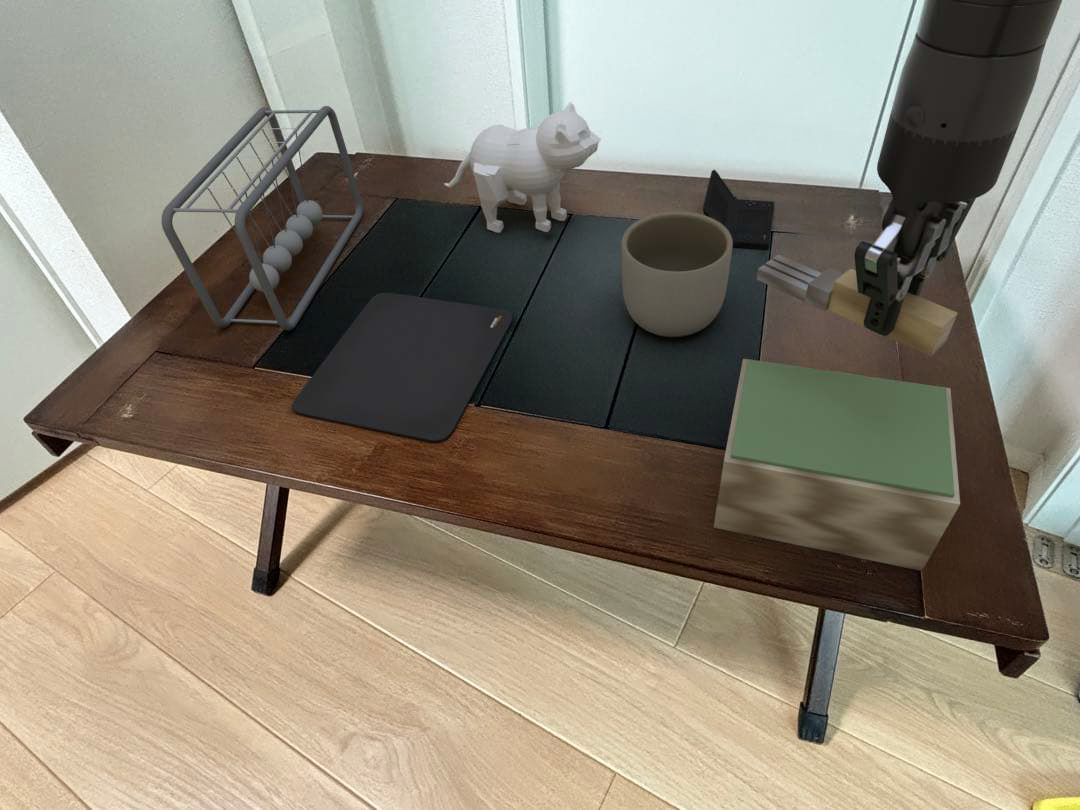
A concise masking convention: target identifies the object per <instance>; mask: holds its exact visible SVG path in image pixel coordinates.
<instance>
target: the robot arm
mask: <svg viewBox="0 0 1080 810" xmlns="http://www.w3.org/2000/svg"><path fill="white" fill-rule="evenodd" d="M1062 2H1063V0H924V1H923V4H922V9H921V13H920V16H919V20H918V24H917V28H916V32H915V34H914V38H913V40H912V44H911V46H910V48H909V52H908V54H907V56H906V57H905V61H904V63H903V67H902V69H901V72H900V76H899V79H898V84H897V87H896V91H895V95H894V99H893V103H892V106H891V110H890V114H889V117H888V121H887V125H886V130H885V134H884V137H883V141H882V145H881V148H880V152H879V156H878V160H877V163H876V164H877V165H876V172H877V175H878V178H879V179H880V181H881V182H882V183H883V184H884V185H885V186H886V187H887V190H889V192H890V194H891V196H892V199H891V200H889V202H888V203H887V204H886V205H885V207H884V209H883V212H882V215H881V218H880V220H879V221H880V222H879V224H880V232H879V235H878V237H877V238H876V239H875V242H874V243H870V242H867V241H864V240H861V242H860V243H859V244H858V245H857V246H856V248H855V251H854V266H855V270H856V277H857V288H858V293H861V294H863V295H865V296H868V297H870V302H869V305H868V308H867V312H866V315H865V319H864V326H865V328H866V329H867V330H868V331H869V330H870V331H871V332H874V333H876V334H878V335H880V336H883V337H886V336H887V335H889V334H890V333H891V332H892V331H893V330H894V327H895V324H896V321H897V318H898V315H899V312H900V309H901V306H902V303H903V300H904V297H905V296H906V294H907V292H908V293H911V294H913V295H916V296H918V297H920V294H921V292H922V288H923V285H924V284H925V283H924V282H925V279H928V278H929V277H930V276H931V275H932V274H933V273H934V268H935V265H936V262H938V263H941V262H942V261H943V260H944V259H946V257H947V255H948V252H949V250H950V248H951V246H952V245H953V243H954V241H955V238H956V237H957V235H958V233H959V231H960V229H961V227H962V226H963V224H964V222H965V220H966V219H967V216H968V214H969V212H970V211H971V208H972V206H973V205H974V203H975V202H976V200H977V198H980V197H982V196H984V195H985V194H987V193H989V192H990V190H992V189H993V188H994V187H995V185H996V184H997V182H998V180H999V177H1000V175H1001V172H1002V169H1003V167H1004V164H1005V163H1006V159H1007V157H1008V155H1009V152H1010V149H1011V147H1012V144H1013V142H1014V139H1015V136H1016V134H1017V132H1018V128H1019V126H1020V123H1021V120H1022V118H1023V116H1024V113H1025V110H1026V108H1027V106H1028V103H1029V101H1030V98H1031V95H1032V93H1033V90H1034V87H1035V85H1036V83H1037V78H1038V74H1039V71H1040V67H1041V62H1042V58H1043V54H1044V51H1045V47H1046V44H1047V42H1048V41H1047V40H1048V39H1049V36H1050V34H1051V31H1052V29H1053V26H1054V23H1055V20H1056V18H1057V16H1058V13H1059V11H1060V7H1061V6H1062ZM864 326H863V327H864Z"/></svg>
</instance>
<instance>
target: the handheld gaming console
mask: <svg viewBox="0 0 1080 810" xmlns="http://www.w3.org/2000/svg"><path fill="white" fill-rule="evenodd" d="M708 180H709V181H708V185H707V188H706V194H705V198H704V201H703V206H702V212H703V215H705V216H707V217H710V218H712V219H714V220H716V221H718V222H720V223H721V224H722V225H723V226H725V227H726V228H727V230H728V231H729V232H730V234H731V236H732V240H733V247H732V248H744V249H755V250H769V247H770V243H771V235H772V225H773V217H774V209H775V201H772V200H756V199H740V198H738V197H737V196H734V194H733V193H732V191H731V190H730V188H729V187H728V186H727V184H726V183H725V181H724V180H723V179H722V177H721V175H720V174H719V173H718V171H717V170H715V169H712V170H711V173H710V177H709V179H708Z"/></svg>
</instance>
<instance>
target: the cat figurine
mask: <svg viewBox="0 0 1080 810" xmlns="http://www.w3.org/2000/svg"><path fill="white" fill-rule="evenodd" d="M597 132H599V133H601V134H602V132H601V131H598V130H597ZM601 140H602V138H601V137H600V136H598V135H597V134H596V132H593V131H592V130H591V129H590V127H589V125H588V123H587V121H586V120H585V119H584V118H583V117H582V116H581V115H579V114H578V113H577V110H576V107H575V104H573V103H572V101H569V102H568V104H567V105H566V107H565V108H564V109H563V110H560V111H559V110H558V111H556V112H553V113H551V114H549V115H547V117H545V118H544V119H543V120H542V122H541V123H540V125H539V126H529V127H525V128H522V129H518V130H517V129H514V128H511V127H509V126H505V125H502V124H495V125H491V126H489V127H487V128H485V129H483V130H482V131H481V132H480V133H479V134H478V135H477V136H476V138H475V139H474V141H473V143H472V145H471V148H470V152H469V153H468V154H467V155H466V156H465V157H464V158H463V160H462V161H461V162H460V163H459V165H458V168H457V171H456V172H455V175H454V177H453V178H452V180H450V182H444V183H443V185H445V187H447V188H449V189H451V190H453V189H454V188H455V187H456V186H458V185H459V184H460V183H461V182H462V179H463V177H464V174H465V171H466V170H467V169H468V168H469V167H470V169H471V172H472V174H473V176H474V180H475V185H476V189H477V194H478V199H479V201H480V206H481V209H482V213H483V215H484V217H485V221H486V229H487V230H489V231H492V232H493V233H496V234H497V233H498V234H500V233H502V231H503V229H504V228H505V227H504V221H502V220H500V219H497V215H498V207H499V206H500V205H501V204H503V203H504V202H505V201H508V202H509V203H512V204H516V205H519V206H525V204H526V203H527V201H528V197H530V198H531V204H532V212H533V215H534V218H535V229H536V230H538V231H542V232H544V233H549V232H550V230H551V229H552V221H551V220H549V219H547V214H548V213H547V212H548V207H549V210H550V216H551V218H552V219H554V220H555V221H556V220H557V221H560V222H565V221H566V219H567V218H568V213H567V212H568V211H567V209H565V208H563V207H561V200H562V196H561V194H560V193H561V192H560V191H561V183H562V181H563V178H564V176H565V174H566V171H569V170H573V169H575V168H579V167H581V166H582V165H584V164H585V163H586V161H587V160H590V159H589V158H590V157H591V156H592V155H593V154H596V152H597V151H598V148H599V143H600V142H601ZM596 158H597V159H598V161H599V160H600V159H599V157H598V156H596ZM547 205H548V206H547Z"/></svg>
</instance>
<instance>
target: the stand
mask: <svg viewBox="0 0 1080 810" xmlns="http://www.w3.org/2000/svg"><path fill="white" fill-rule="evenodd" d="M748 360H751V359H750V358H743V359H742V362H741V366H740V367H741V368H740V373H739V378H738V382H737V383H738V384H737V388H736V394H735V398H734V399H735V400H734V405H733V410H732V416H731V421H730V425H729V426H730V427H729V431H728V436H727V442H726V447H725V451H724V458H723V463H722V470H721V477H720V483H719V488H718V489H719V491H718V495H717V502H716V507H715V508H716V509H715V516H714V522H713V528H714V529H719V530H723V531H727V532H733V533H737V534H742V535H748V536H753V537H757V538H762V539H767V540H771V541H776V542H780V543H785V544H789V545H795V546H800V547H804V548H808V549H809V548H810V549H814V550H819V551H824V552H829V553H833V554H837V555H843V556H848V557H853V558H857V559H862V560H866V561H871V562H877V563H881V564H886V565H890V566H895V567H900V568H905V569H909V570H915V571H919V572H922V571H923V570H924V568H925V567H926V565H927V563H928V562H929V560H930V557H931V556H932V554H933V553H934V551H935V549H936V548H937V546H938V544H939V542H940V541H941V538H943V535H944V533H945V532H946V530H947V528H948V527H949V525H950V523H951V522H952V519H953V518H954V516H955V514H956V513H957V511H958V509H959V507H960V505H961V496H960V486H959V485H960V484H959V474H958V461H957V450H956V438H955V428H954V427H955V425H954V415H953V403H952V393H951V391H952V390H951V388H950V387H943V386H941V387H942V388H946V394H947V406H948V419H949V431H950V444H951V457H952V469H953V482H954V494H955V495H954V497H953V498H951V497H946V496H940V495H935V494H929V493H924V492H918V491H913V490H907V489H902V488H896V487H891V486H885V485H880V484H874V483H869V482H863V481H858V480H852V479H847V478H841V477H836V476H830V475H825V474H819V473H814V472H808V471H803V470H797V469H791V468H786V467H780V466H775V465H769V464H764V463H758V462H753V461H747V460H742V459H736V458H731V453H732V447H733V442H734V436H735V431H736V425H737V420H738V414H739V408H740V403H741V397H742V392H743V386H744V381H745V375H746V370H747V364H748ZM754 360H755V361H758V360H756V359H754ZM761 361H762V360H761ZM762 362H765V361H762ZM768 362H769V363H772V362H771V361H768ZM775 363H776V364H779V363H777V362H775ZM781 364H782V365H786V364H784V363H781ZM788 365H789V366H793V365H792V364H791V365H790V364H788ZM795 366H796V367H800V366H798V365H795ZM802 367H803V368H807V367H806V366H802ZM809 368H810V369H814V368H811V367H809ZM816 369H817V370H820V369H819V368H816ZM823 370H824V371H827V370H825V369H823ZM830 371H831V372H834V371H832V370H830ZM837 372H838V373H841V371H840V372H839V371H837ZM844 373H845V374H848V372H847V373H846V372H844ZM851 374H852V375H855V374H854V373H851ZM858 375H859V376H862V375H860V374H858ZM865 376H866V377H869V376H867V375H865ZM872 377H873V378H876V377H875V376H872ZM879 378H880V379H883V378H882V377H879ZM886 379H887V380H890V379H888V378H886ZM893 380H894V379H893ZM894 381H897V380H896V379H895V380H894ZM900 381H901V382H904V381H902V380H900ZM907 382H908V381H907ZM908 383H911V382H908ZM913 383H914V384H918V383H916V382H913ZM920 384H921V385H925V384H923V383H920ZM927 385H928V386H932V385H930V384H927ZM934 386H935V387H939V386H938V385H937V386H936V385H934Z"/></svg>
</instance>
